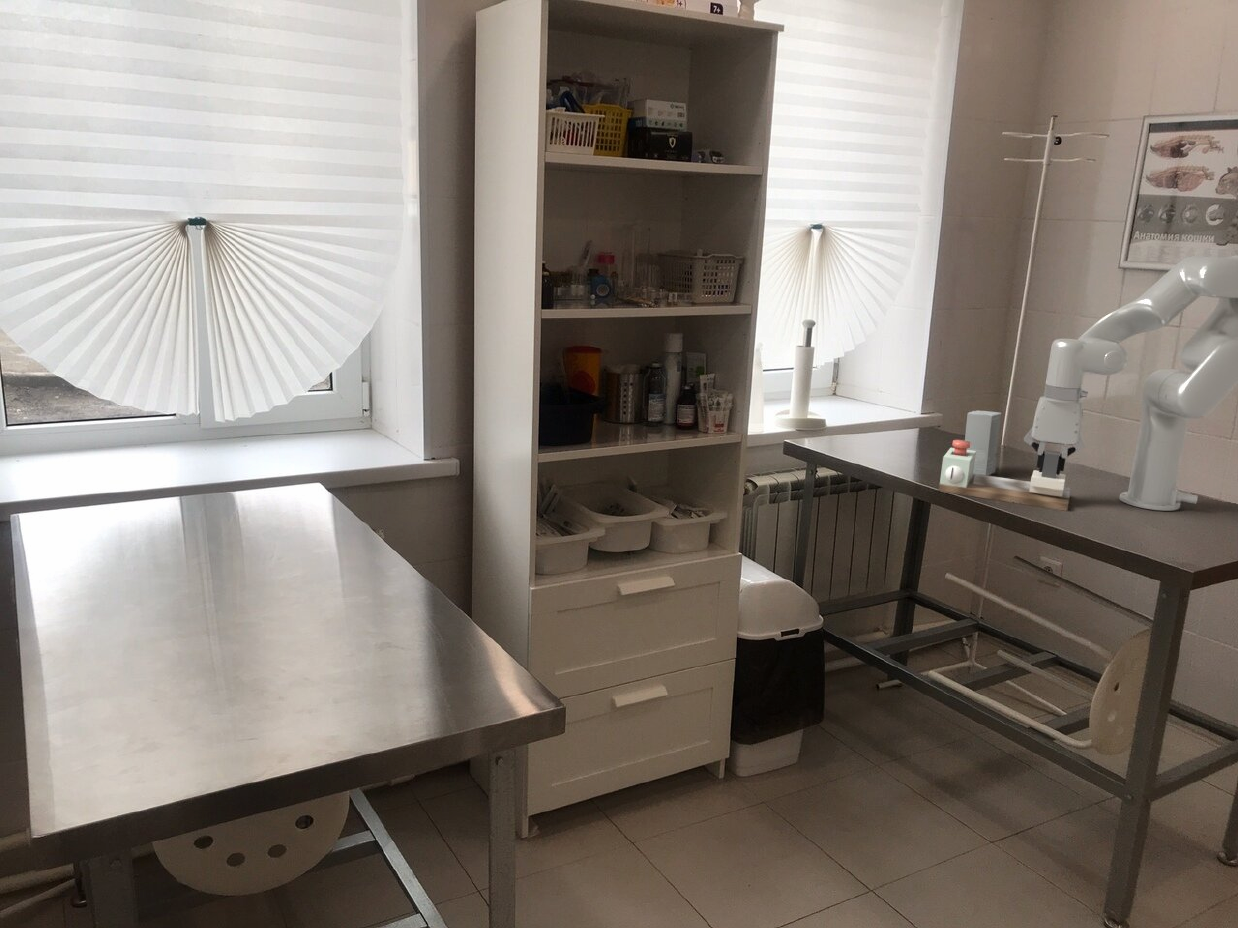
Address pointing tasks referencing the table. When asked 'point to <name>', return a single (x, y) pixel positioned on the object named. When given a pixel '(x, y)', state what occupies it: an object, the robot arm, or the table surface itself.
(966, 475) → the sage gauge cabinet
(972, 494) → the walnut rail board
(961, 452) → the red reset button
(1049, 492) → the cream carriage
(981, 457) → the skincare box
